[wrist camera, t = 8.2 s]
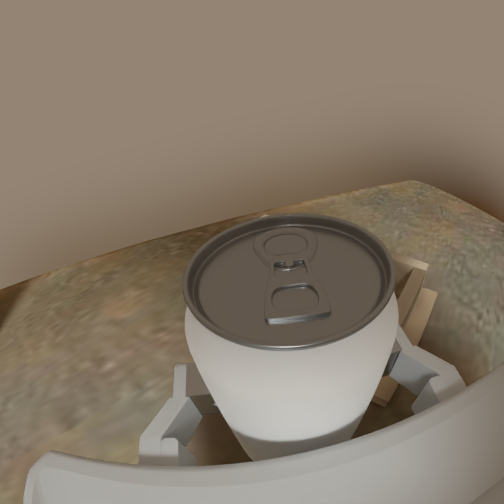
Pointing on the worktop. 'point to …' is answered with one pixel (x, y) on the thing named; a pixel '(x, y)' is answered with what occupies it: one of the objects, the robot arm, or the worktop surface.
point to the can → (291, 328)
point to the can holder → (407, 311)
